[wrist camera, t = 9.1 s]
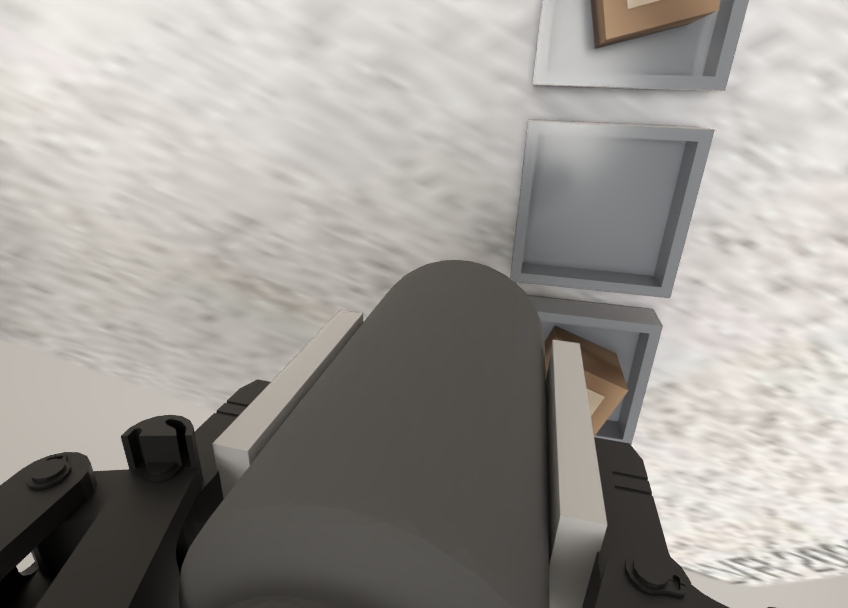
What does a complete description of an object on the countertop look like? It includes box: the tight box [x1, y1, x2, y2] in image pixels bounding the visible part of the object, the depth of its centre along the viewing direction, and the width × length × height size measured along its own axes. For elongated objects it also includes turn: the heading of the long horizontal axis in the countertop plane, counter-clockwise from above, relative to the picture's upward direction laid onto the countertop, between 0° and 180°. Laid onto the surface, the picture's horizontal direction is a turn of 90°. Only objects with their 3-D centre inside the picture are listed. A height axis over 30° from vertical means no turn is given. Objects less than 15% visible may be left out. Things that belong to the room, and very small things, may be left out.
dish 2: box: [510, 119, 714, 298], centre depth 28 cm, size 9×9×2 cm
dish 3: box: [527, 295, 663, 445], centre depth 32 cm, size 9×9×2 cm
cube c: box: [544, 325, 628, 436], centre depth 31 cm, size 4×4×5 cm
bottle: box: [179, 260, 550, 608], centre depth 10 cm, size 6×6×15 cm
